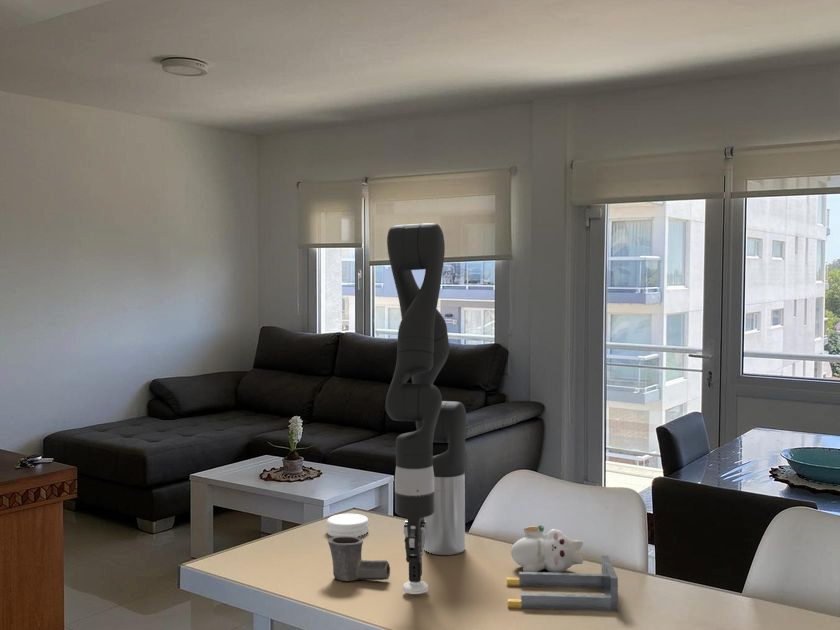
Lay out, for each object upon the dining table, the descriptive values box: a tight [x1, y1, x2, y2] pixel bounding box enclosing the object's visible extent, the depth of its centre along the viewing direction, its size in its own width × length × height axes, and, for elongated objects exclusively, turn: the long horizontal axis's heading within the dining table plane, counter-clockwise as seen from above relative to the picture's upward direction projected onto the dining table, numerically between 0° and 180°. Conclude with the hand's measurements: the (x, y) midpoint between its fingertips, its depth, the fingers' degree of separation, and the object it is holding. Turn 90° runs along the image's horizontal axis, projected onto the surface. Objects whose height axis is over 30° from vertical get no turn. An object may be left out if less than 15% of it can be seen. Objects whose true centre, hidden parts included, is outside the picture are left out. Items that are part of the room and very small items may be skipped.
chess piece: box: [402, 554, 429, 595], centre depth 150 cm, size 5×5×10 cm
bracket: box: [506, 555, 619, 612], centre depth 148 cm, size 12×20×6 cm, turn 85°
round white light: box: [326, 513, 370, 538], centre depth 190 cm, size 10×10×4 cm
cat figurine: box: [510, 524, 584, 573], centre depth 163 cm, size 10×8×15 cm
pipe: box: [327, 536, 391, 582], centre depth 158 cm, size 6×13×8 cm, turn 77°
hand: (415, 578), depth 150 cm, fingers closed on chess piece
